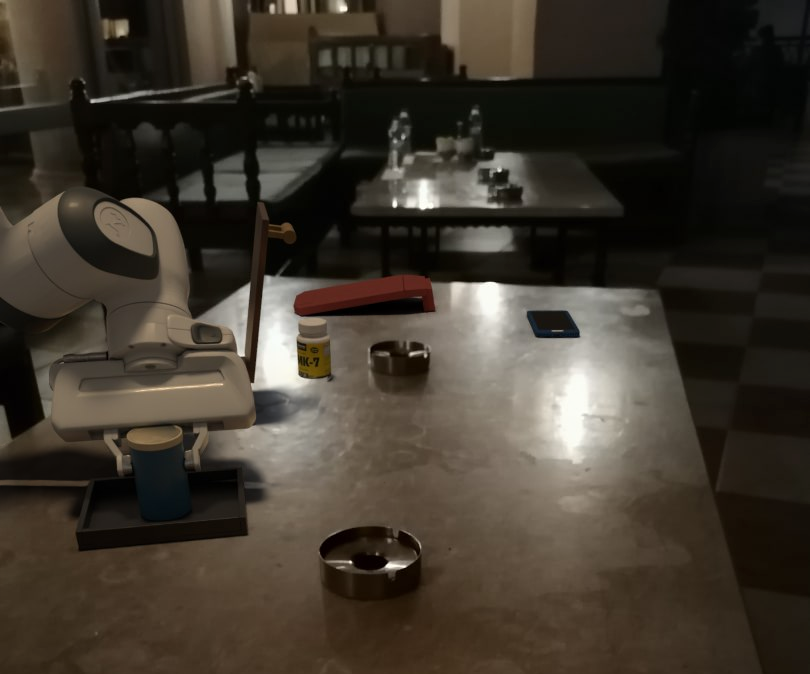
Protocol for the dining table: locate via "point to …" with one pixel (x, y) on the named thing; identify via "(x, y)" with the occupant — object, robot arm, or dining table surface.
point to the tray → (124, 525)
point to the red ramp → (365, 294)
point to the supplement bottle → (313, 349)
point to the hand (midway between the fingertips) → (160, 472)
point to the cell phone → (552, 323)
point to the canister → (160, 471)
